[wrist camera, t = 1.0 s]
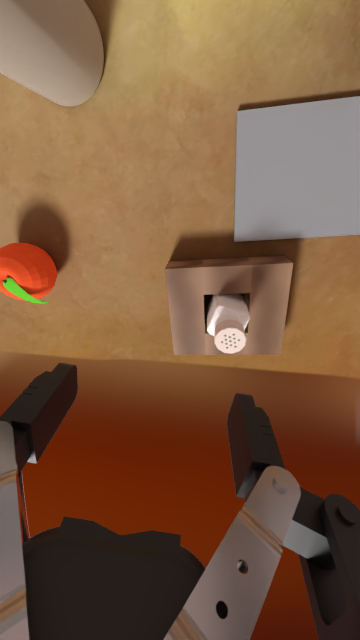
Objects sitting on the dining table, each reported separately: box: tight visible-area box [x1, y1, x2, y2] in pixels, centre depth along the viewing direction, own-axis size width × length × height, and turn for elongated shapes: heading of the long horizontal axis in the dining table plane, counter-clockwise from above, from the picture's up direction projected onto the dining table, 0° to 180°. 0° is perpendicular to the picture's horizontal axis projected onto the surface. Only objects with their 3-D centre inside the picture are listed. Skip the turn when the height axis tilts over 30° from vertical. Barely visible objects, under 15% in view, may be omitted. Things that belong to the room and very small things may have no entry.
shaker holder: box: [165, 255, 293, 355], centre depth 32 cm, size 14×12×4 cm
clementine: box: [0, 243, 57, 304], centre depth 30 cm, size 8×7×7 cm
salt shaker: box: [207, 293, 250, 354], centre depth 29 cm, size 4×4×10 cm
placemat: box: [234, 96, 360, 242], centre depth 25 cm, size 16×12×1 cm
